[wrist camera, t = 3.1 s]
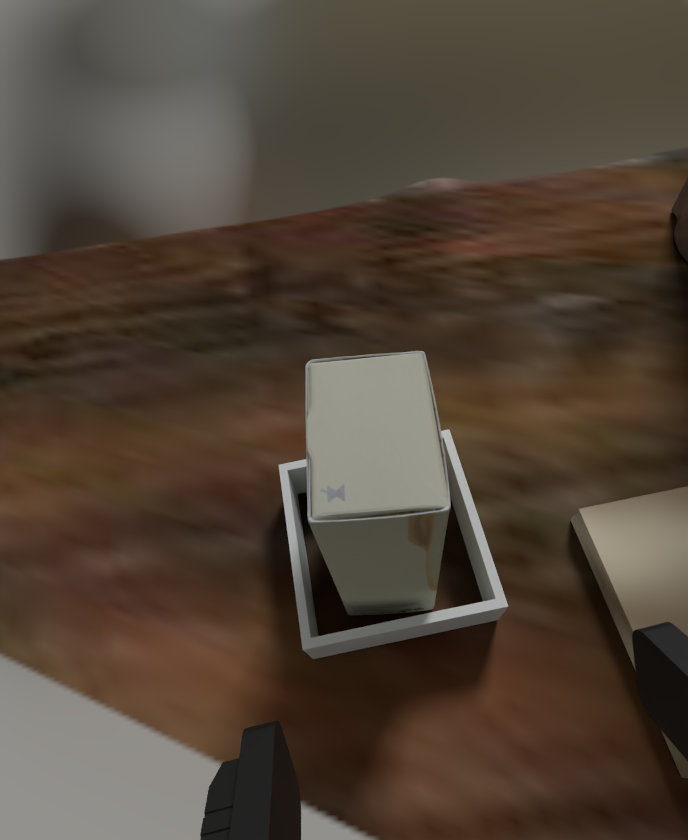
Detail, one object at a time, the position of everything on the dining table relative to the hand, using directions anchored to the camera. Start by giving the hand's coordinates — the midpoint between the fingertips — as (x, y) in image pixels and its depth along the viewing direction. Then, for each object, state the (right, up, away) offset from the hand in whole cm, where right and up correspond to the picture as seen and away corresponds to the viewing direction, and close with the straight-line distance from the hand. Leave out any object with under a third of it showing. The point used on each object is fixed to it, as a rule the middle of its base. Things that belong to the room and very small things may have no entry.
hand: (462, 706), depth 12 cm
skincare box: (0, 0, +16) cm, 16 cm away
